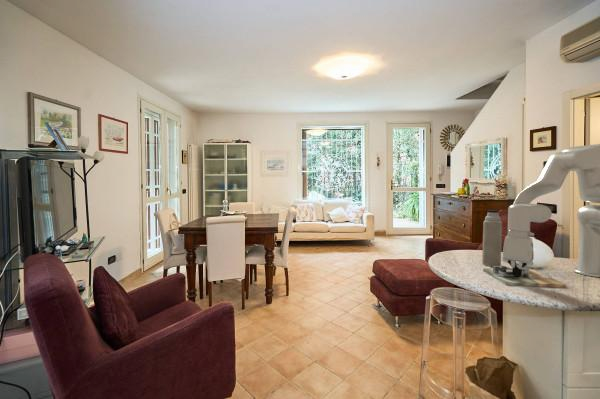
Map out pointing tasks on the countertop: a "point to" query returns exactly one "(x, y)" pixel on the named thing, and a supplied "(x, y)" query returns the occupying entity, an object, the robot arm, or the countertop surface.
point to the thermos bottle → (492, 239)
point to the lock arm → (505, 272)
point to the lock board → (525, 279)
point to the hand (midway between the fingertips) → (516, 276)
